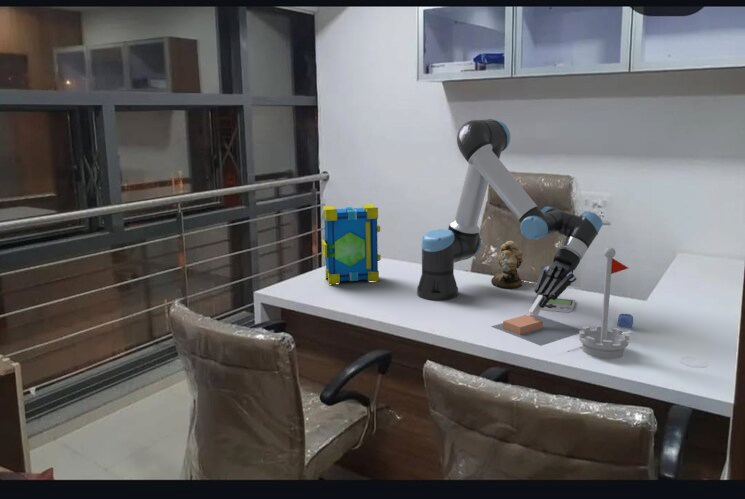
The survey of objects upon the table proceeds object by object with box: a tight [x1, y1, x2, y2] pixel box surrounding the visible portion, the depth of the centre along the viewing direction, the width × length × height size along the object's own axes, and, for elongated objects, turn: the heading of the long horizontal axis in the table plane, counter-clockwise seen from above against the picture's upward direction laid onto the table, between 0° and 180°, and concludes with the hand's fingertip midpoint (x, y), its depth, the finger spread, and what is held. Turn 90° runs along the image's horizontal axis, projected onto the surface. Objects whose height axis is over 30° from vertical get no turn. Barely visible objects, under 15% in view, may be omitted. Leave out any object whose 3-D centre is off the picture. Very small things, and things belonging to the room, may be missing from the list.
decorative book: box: [321, 203, 382, 285], centre depth 249 cm, size 14×23×30 cm, turn 100°
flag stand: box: [578, 246, 630, 360], centre depth 173 cm, size 13×13×30 cm
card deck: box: [502, 314, 543, 335], centre depth 194 cm, size 7×2×10 cm
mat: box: [491, 314, 582, 347], centre depth 193 cm, size 20×20×1 cm
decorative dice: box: [616, 313, 634, 330], centre depth 195 cm, size 4×4×4 cm
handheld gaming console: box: [540, 297, 576, 314], centre depth 216 cm, size 10×2×15 cm
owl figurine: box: [490, 240, 523, 290], centre depth 244 cm, size 18×12×17 cm, turn 175°
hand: (532, 314), depth 195 cm, fingers closed
